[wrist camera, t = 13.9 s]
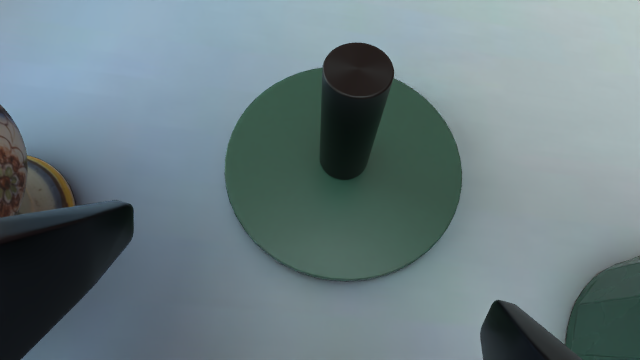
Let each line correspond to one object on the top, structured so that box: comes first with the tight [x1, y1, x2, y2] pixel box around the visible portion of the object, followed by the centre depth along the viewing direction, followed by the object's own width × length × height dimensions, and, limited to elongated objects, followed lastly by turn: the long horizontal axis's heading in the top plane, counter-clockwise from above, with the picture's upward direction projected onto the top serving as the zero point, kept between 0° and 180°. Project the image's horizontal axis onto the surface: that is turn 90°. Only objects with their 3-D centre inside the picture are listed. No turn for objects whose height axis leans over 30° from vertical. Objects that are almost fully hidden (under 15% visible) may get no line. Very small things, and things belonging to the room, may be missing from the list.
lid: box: [225, 43, 462, 281], centre depth 16 cm, size 13×13×8 cm
